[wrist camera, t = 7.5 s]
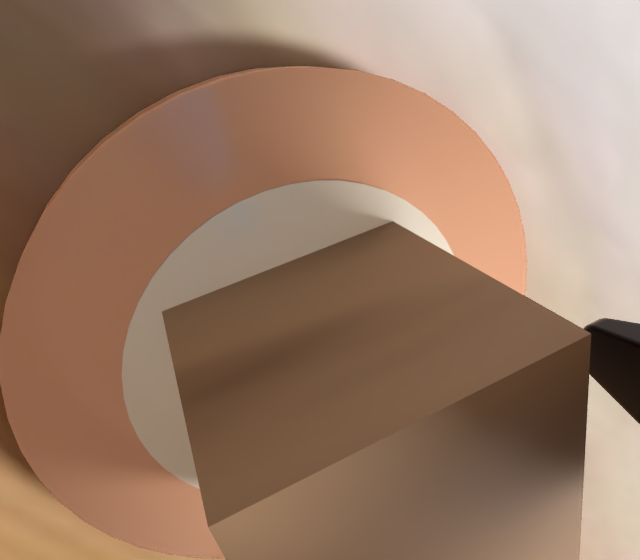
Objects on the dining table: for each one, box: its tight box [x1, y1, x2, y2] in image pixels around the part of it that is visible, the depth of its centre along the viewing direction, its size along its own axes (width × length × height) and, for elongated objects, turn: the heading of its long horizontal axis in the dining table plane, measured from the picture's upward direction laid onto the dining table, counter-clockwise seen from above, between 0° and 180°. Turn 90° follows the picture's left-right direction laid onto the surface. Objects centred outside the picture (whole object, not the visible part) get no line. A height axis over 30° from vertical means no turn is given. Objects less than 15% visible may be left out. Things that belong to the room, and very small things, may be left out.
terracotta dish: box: [0, 66, 527, 558], centre depth 11 cm, size 12×12×1 cm
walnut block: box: [162, 221, 591, 560], centre depth 9 cm, size 5×5×5 cm
